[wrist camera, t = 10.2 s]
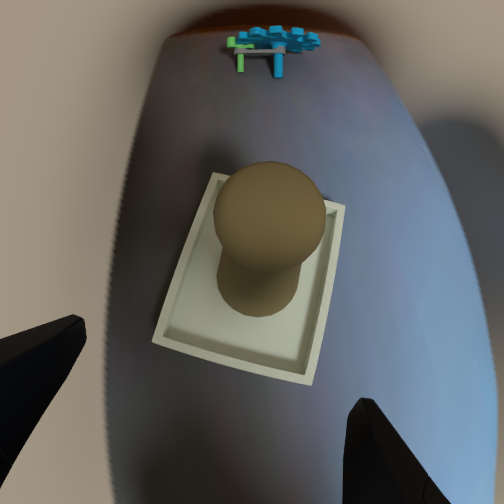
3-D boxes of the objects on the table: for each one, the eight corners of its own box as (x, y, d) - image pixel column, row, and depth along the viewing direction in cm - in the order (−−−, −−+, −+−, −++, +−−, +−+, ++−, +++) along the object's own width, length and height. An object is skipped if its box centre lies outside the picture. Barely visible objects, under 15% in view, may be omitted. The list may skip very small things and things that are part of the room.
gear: (318, 45, 34) (323, 22, 25) (318, 85, 36) (324, 72, 27) (236, 44, 35) (218, 23, 26) (235, 83, 38) (217, 71, 29)
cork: (200, 267, 23) (174, 180, 13) (266, 225, 25) (284, 124, 14) (248, 334, 21) (257, 296, 11) (314, 285, 23) (371, 214, 13)
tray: (305, 384, 21) (311, 385, 19) (157, 344, 21) (151, 341, 20) (338, 216, 26) (345, 205, 24) (214, 184, 27) (213, 172, 25)
